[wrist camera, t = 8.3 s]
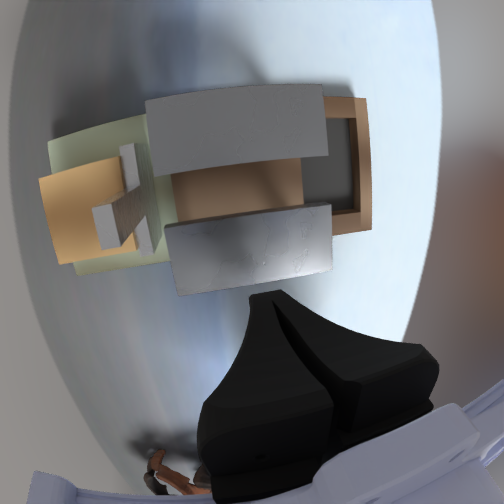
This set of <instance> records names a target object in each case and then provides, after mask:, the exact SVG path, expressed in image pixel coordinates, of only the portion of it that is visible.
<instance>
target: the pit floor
mask: <svg viewBox="0 0 504 504" xmlns="http://www.w3.org/2000/svg"><path fill="white" fill-rule="evenodd" d="M326 129H327V141H328V154H329V156H315V157H301V158H300V161H301V173H302V187H303V201H304V204H309V203H318V202H327V203H329V204H331V211H338V210H347V209H353V176H352V157H351V141H350V129H349V119H341V118H328V119H326Z"/></svg>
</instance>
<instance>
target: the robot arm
mask: <svg viewBox="0 0 504 504" xmlns="http://www.w3.org/2000/svg"><path fill="white" fill-rule="evenodd" d="M249 304H250V315H249V321H248V326H247V330H246V333H245V337H244V340H243V343H242V345H241V348H240V350H239V352H238V354H237V356H236V358H235V360H234V362H233V364H232V366H231V368H230V369H229V371H228V372H227V374H226V375H225V377H224V378H223V380H222V381H221V383H220V384H219V385H218V387H217V388H216V389H215V390H214V391H213V393H212V394H211V395H210V396H209V397H208V398H207V399H206V400H205V401H204V403H203V406H202V410H201V413H200V417H199V422H198V428H197V449H198V455H199V458H200V460H201V462H202V463H203V465H204V467H205V468H206V470H207V472H208V473H209V475H210V481H211V489H212V493H210V494H196V495H132V494H119V493H109V492H100V491H92V490H86V489H80V488H76V486H75V485H74V484H73V483H71V482H70V481H68V480H67V479H65V478H63V477H61V476H57V475H52V474H48V473H44V472H40V471H34V473H33V477H32V481H31V485H30V489H29V495H28V499H27V503H26V504H504V495H503V493H502V492H501V490H500V489H499V487H498V486H497V484H496V483H495V481H494V480H493V478H492V477H491V475H490V474H489V473H488V471H487V470H486V468H485V467H486V466H487V465H488V464H490V463H491V462H492V461H493V460H494V459H495V458H496V457H497V456H498V455H499V454H501V453H502V452H503V451H504V379H502V380H501V381H500V382H499V383H497V384H496V385H495V386H493V387H492V388H491V389H489V390H488V391H487V392H485V393H484V394H482V395H481V396H480V397H478V398H477V399H475V400H474V401H472V402H471V403H469V404H468V405H466V406H465V407H463V408H462V409H461V408H460V406H458V405H457V404H455V403H450V404H448V405H445V406H442V407H440V408H438V409H436V410H434V411H431V410H432V409H433V407H434V406H433V404H432V402H431V401H430V400H429V397H430V394H431V392H432V390H433V388H434V386H435V383H436V381H437V378H438V374H439V364H438V362H437V360H436V359H435V358H434V357H433V356H432V355H431V354H430V353H429V352H428V351H427V350H426V349H425V348H424V347H423V346H422V345H421V344H411V343H402V342H394V341H389V340H384V339H379V338H375V337H371V336H367V335H364V334H361V333H358V332H355V331H352V330H349V329H347V328H344V327H342V326H340V325H337V324H335V323H333V322H331V321H329V320H327V319H325V318H323V317H321V316H320V315H318V314H316V313H314V312H313V311H311V310H310V309H308V308H306V307H305V306H303V305H302V304H300V303H299V302H298V301H296V300H295V299H293V298H292V297H291V296H289V295H288V294H287V293H285V292H284V291H282V290H275V291H270V292H264V293H259V294H253V295H251V296H250V297H249Z"/></svg>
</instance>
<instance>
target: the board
mask: <svg viewBox="0 0 504 504" xmlns="http://www.w3.org/2000/svg"><path fill="white" fill-rule="evenodd" d="M323 100H324V109H325V119H328V118H341V119H349V129H350V141H351V157H352V176H353V209H347V210H338V211H332V236H334V235H340V234H347V233H353V232H360V231H366V230H372V177H371V153H370V137H369V124H368V113H367V103H366V98H353V97H325V96H323ZM132 143H142V144H147V146H148V153H149V160H150V167H151V173H152V180H153V186H154V192H155V197H156V203H157V209H158V214H159V219H160V225H161V230H162V237H161V239H160V242H159V244H158V246H157V249H156V251H155V254H154V255H149V256H143V257H140V254H139V250H138V249H137V251H133V252H127V253H121V254H115V255H110V256H104V257H98V258H93V259H87V260H82V261H76V262H73V265H74V268H75V271H76V274H77V276H80V275H86V274H92V273H98V272H104V271H111V270H117V269H123V268H129V267H136V266H142V265H148V264H154V263H161V262H167V261H170V258H169V253H168V248H167V244H166V239H165V234H164V227H165V224H170V223H176V222H182V221H188V220H195V219H201V218H207V217H214V216H220V215H227V214H234V213H241V212H248V211H255V210H262V209H270V208H277V207H285V206H293V205H301V204H304V201H303V187H302V173H301V161H300V158H288V159H277V160H267V161H258V162H249V163H240V164H232V165H225V166H218V167H211V168H204V169H197V170H191V171H185V172H179V173H173V174H167V175H162V176H157V177H154V172H153V165H152V158H151V151H150V144H149V136H148V128H147V119H146V114H142V115H138V116H133V117H129V118H125V119H121V120H117V121H113V122H109V123H105V124H102V125H98V126H95V127H91V128H88V129H85V130H81V131H78V132H75V133H72V134H69V135H66V136H63V137H60V138H57V139H54V140H51V141H49V142H48V151H49V158H50V165H51V171H52V174H55V173H58V172H62V171H65V170H68V169H72V168H75V167H79V166H82V165H86V164H89V163H93V162H97V161H101V160H105V159H109V158H113V157H117V156H120V149H119V146H123V145H127V144H132Z"/></svg>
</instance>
